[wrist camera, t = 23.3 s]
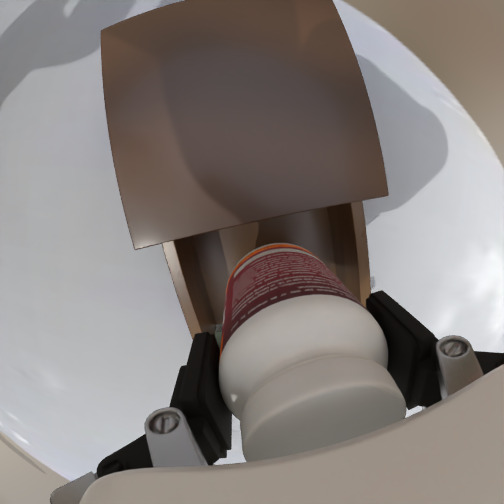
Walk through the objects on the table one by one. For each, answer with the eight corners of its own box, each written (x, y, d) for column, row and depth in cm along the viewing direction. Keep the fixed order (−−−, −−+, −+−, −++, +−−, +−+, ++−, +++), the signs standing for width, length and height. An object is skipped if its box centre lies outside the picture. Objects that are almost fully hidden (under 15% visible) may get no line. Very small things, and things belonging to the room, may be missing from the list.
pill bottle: (205, 278, 16) (158, 430, 5) (294, 219, 15) (401, 298, 5) (262, 350, 17) (284, 502, 7) (343, 301, 17) (439, 424, 6)
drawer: (353, 353, 25) (377, 392, 19) (223, 382, 25) (220, 429, 19) (332, 161, 20) (366, 154, 14) (165, 196, 20) (137, 202, 14)
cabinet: (340, 190, 22) (389, 195, 14) (169, 226, 22) (134, 250, 14) (301, 37, 18) (326, -13, 10) (138, 69, 18) (100, 30, 10)
